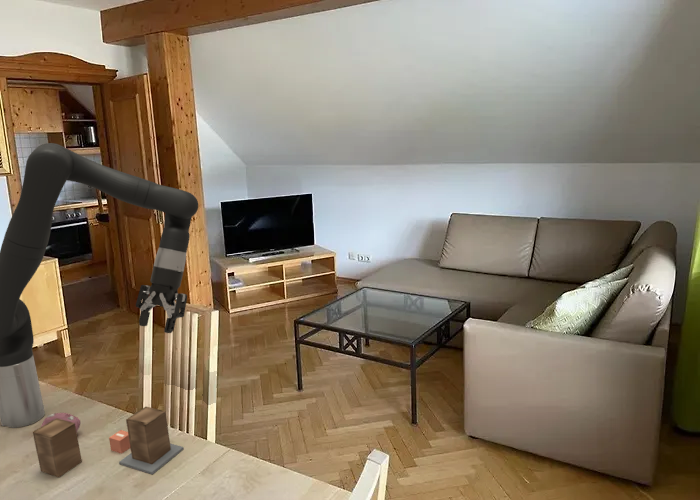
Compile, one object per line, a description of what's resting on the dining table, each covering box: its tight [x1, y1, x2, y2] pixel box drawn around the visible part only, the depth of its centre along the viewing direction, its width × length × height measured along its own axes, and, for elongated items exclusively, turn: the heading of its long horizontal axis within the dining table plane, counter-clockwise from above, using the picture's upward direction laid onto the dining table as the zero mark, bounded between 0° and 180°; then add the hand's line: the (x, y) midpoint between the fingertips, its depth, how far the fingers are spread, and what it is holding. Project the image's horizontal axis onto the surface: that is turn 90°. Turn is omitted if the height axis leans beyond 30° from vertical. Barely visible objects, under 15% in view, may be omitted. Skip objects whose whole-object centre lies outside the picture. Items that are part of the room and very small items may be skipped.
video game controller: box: [40, 412, 81, 433], centre depth 137 cm, size 10×5×7 cm, turn 76°
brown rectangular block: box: [125, 406, 171, 464], centre depth 126 cm, size 6×6×10 cm
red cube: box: [108, 429, 131, 455], centre depth 131 cm, size 4×4×4 cm
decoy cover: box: [32, 418, 83, 478], centre depth 124 cm, size 6×6×10 cm
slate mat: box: [118, 442, 184, 476], centre depth 127 cm, size 10×10×1 cm
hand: (155, 329), depth 141 cm, fingers open, 8 cm apart
